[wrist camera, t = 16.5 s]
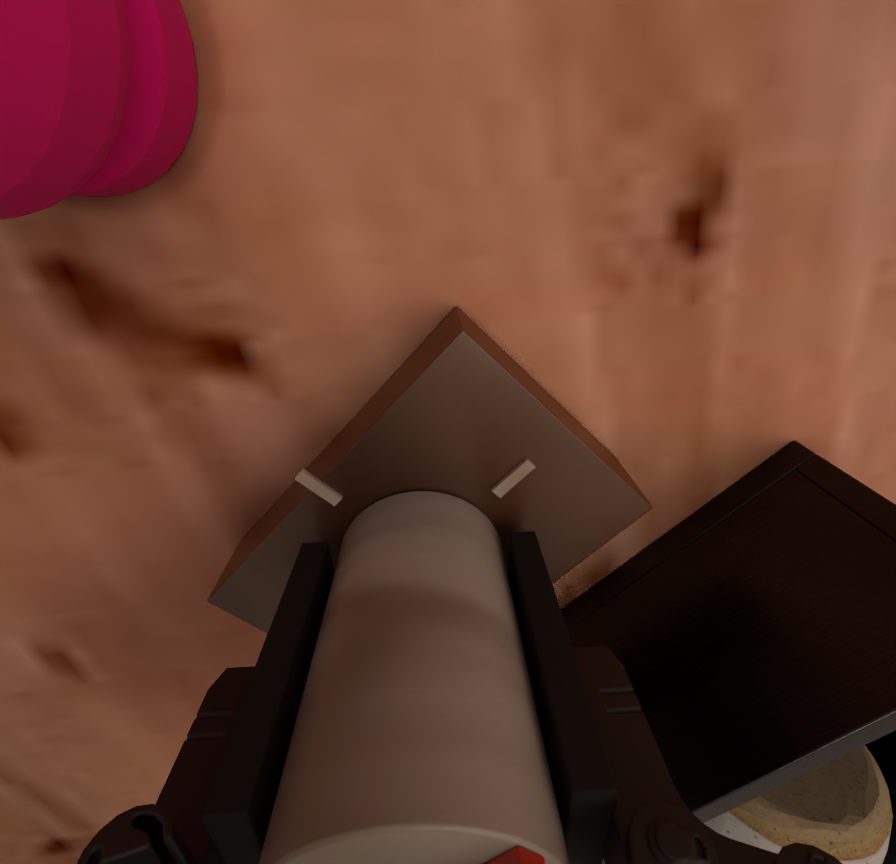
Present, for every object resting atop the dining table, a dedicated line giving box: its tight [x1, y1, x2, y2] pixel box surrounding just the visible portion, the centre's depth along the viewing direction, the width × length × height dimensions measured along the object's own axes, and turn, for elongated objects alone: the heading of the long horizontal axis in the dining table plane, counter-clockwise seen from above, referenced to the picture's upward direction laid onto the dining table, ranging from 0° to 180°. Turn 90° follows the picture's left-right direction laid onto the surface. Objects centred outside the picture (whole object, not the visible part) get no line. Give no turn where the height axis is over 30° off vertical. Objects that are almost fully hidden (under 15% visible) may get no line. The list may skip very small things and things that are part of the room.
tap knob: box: [259, 491, 570, 864], centre depth 11 cm, size 5×5×8 cm
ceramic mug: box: [704, 745, 893, 864], centre depth 18 cm, size 11×8×8 cm
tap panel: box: [207, 306, 652, 633], centre depth 16 cm, size 12×9×3 cm
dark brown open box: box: [561, 441, 896, 864], centre depth 19 cm, size 22×16×8 cm
